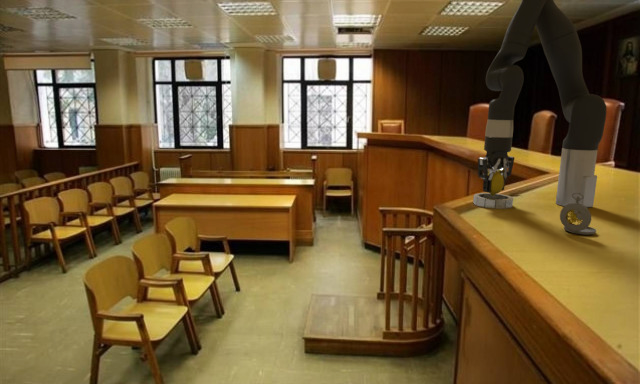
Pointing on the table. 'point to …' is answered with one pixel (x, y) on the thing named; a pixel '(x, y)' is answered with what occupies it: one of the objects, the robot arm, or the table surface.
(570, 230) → the pocket watch
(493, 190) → the lemon
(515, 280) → the table surface
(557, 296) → the table surface
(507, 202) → the grey stone ring
